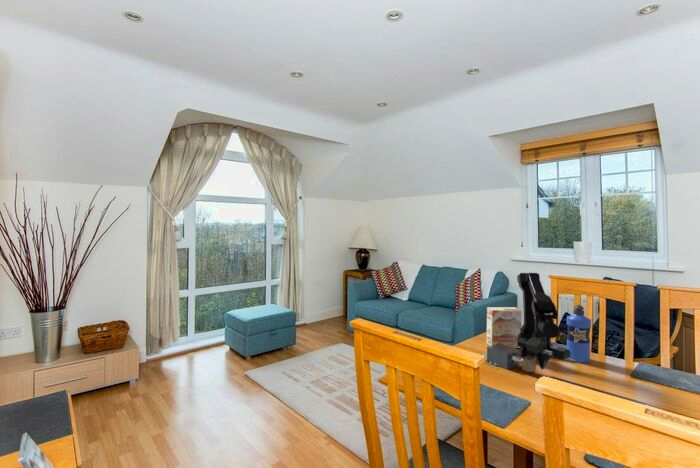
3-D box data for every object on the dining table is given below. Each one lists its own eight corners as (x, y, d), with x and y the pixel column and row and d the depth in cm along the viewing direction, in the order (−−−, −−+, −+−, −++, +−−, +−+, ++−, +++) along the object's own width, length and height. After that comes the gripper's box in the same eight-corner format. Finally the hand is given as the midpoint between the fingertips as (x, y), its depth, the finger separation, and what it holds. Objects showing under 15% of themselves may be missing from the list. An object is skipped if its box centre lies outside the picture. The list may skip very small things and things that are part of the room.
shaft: (497, 355, 161) (497, 345, 161) (536, 369, 146) (536, 357, 145) (490, 358, 158) (490, 347, 158) (529, 372, 143) (529, 360, 143)
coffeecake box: (491, 349, 174) (492, 310, 173) (486, 344, 181) (486, 306, 180) (521, 348, 174) (522, 310, 173) (514, 343, 181) (515, 306, 181)
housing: (499, 357, 162) (499, 343, 162) (519, 364, 154) (519, 349, 154) (486, 361, 157) (487, 346, 157) (507, 369, 149) (507, 353, 149)
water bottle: (565, 354, 166) (566, 302, 166) (589, 358, 162) (590, 304, 161) (566, 361, 158) (567, 306, 158) (591, 365, 154) (592, 308, 153)
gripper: (509, 327, 144) (509, 365, 144) (555, 340, 128) (555, 382, 128) (525, 323, 150) (524, 360, 150) (571, 335, 134) (571, 375, 134)
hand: (542, 368), depth 141 cm, fingers closed
